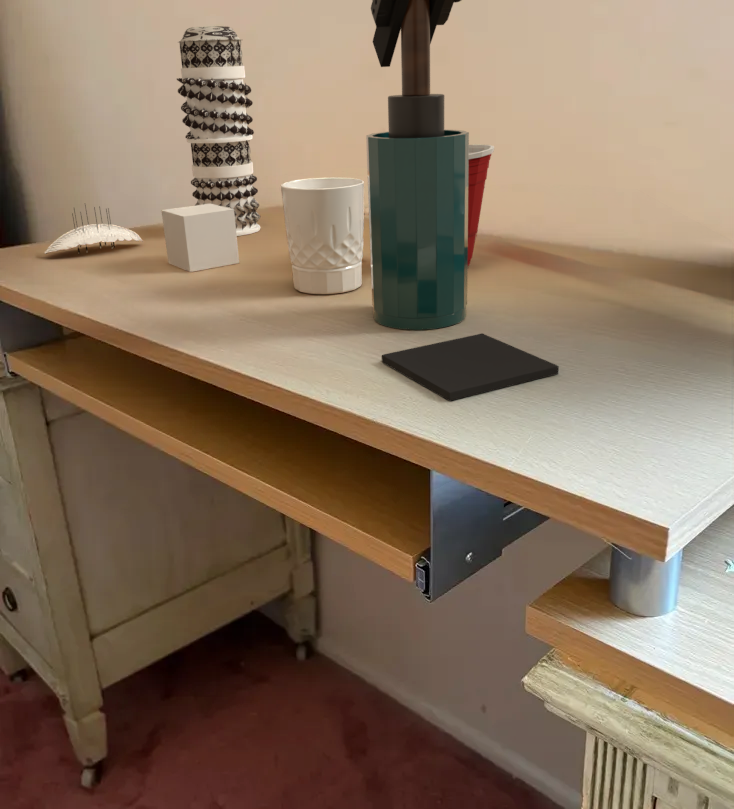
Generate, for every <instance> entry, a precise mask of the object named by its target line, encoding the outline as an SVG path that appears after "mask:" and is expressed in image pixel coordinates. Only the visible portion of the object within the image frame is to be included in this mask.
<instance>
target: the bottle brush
mask: <svg viewBox="0 0 734 809" xmlns="http://www.w3.org/2000/svg"><path fill="white" fill-rule="evenodd" d="M400 51H401V52H400V56H401V57H400V58H401V62H400V63H401V94H395V95H389V96H387V118H388V122H387V123H388V132H389V138H424V137H440V136H444V130H445V94H443V93H431V44H430V0H409V2H408V6H407V9H406V12H405V16H404V19H403V21H402V25H401V30H400Z"/></svg>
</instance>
